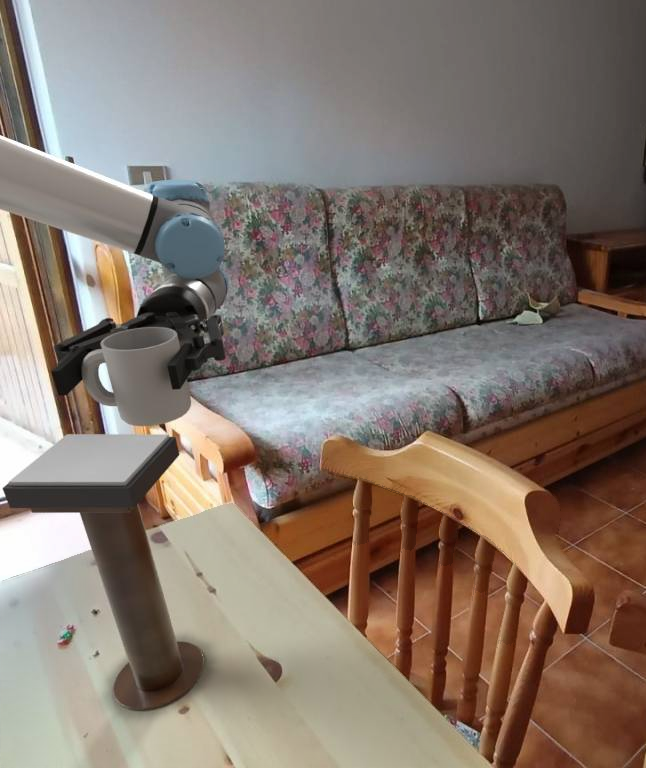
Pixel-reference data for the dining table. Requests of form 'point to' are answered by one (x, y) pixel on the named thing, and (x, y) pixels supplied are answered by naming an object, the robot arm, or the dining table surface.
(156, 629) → the stand
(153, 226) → the robot arm
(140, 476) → the scale
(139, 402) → the cup
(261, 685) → the dining table surface
